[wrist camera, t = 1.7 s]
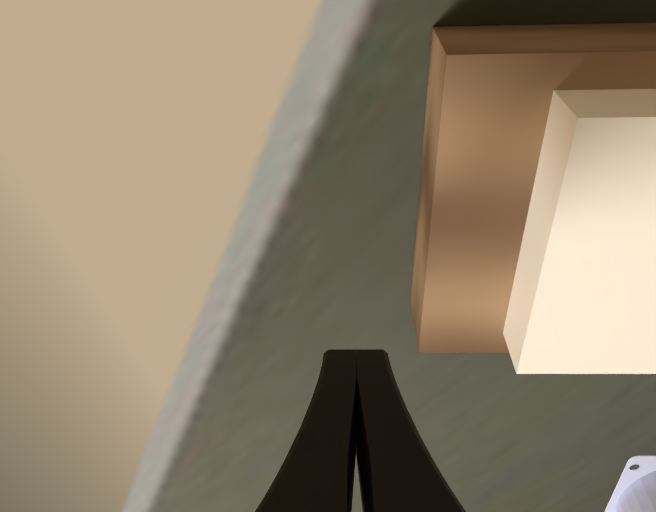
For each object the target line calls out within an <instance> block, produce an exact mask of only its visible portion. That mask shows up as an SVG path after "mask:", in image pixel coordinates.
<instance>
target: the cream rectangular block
mask: <svg viewBox="0 0 656 512" xmlns="http://www.w3.org/2000/svg"><path fill="white" fill-rule="evenodd" d="M503 335H504V338H505V341H506V344H507V347H508V350H509V353H510V356H511V359H512V362H513V365H514V368H515V371H516V374H656V89H605V90H553V95H552V100H551V104H550V109H549V114H548V119H547V124H546V128H545V133H544V138H543V143H542V148H541V152H540V157H539V162H538V167H537V172H536V176H535V181H534V186H533V191H532V196H531V200H530V205H529V210H528V215H527V220H526V224H525V229H524V234H523V239H522V244H521V248H520V253H519V258H518V263H517V268H516V272H515V277H514V282H513V287H512V292H511V296H510V301H509V306H508V311H507V316H506V320H505V325H504V330H503Z"/></svg>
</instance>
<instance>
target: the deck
mask: <svg viewBox="0 0 656 512" xmlns="http://www.w3.org/2000/svg"><path fill="white" fill-rule="evenodd" d="M605 89H656V23H604V24H551V25H499V26H447V27H432V38H431V51H430V64H429V77H428V89H427V102H426V115H425V128H424V140H423V153H422V166H421V179H420V191H419V204H418V217H417V230H416V242H415V255H414V268H413V281H412V293H411V306H412V312H413V319H414V326H415V332H416V339H417V346H418V353H509V350H508V347H507V344H506V341H505V338H504V335H503V330H504V325H505V320H506V316H507V311H508V306H509V301H510V296H511V292H512V287H513V282H514V277H515V272H516V268H517V263H518V258H519V253H520V248H521V244H522V239H523V234H524V229H525V224H526V220H527V215H528V210H529V205H530V200H531V196H532V191H533V186H534V181H535V176H536V172H537V167H538V162H539V157H540V152H541V148H542V143H543V138H544V133H545V128H546V124H547V119H548V114H549V109H550V104H551V100H552V95H553V90H605Z"/></svg>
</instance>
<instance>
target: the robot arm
mask: <svg viewBox="0 0 656 512" xmlns="http://www.w3.org/2000/svg"><path fill="white" fill-rule="evenodd" d="M356 455H357V464H358V473H359V482H360V491H361V500H362V509H363V512H466V511H465V510H464V508H463V507H462V505H461V504H460V503H459V501H458V499H457V498H456V496H455V495H454V493H453V492H452V490H451V489H450V487H449V486H448V484H447V482H446V481H445V479H444V478H443V476H442V474H441V473H440V471H439V469H438V468H437V466H436V464H435V462H434V461H433V459H432V457H431V455H430V453H429V452H428V450H427V448H426V446H425V444H424V442H423V441H422V439H421V437H420V435H419V433H418V431H417V429H416V427H415V425H414V422H413V420H412V418H411V416H410V414H409V412H408V410H407V408H406V405H405V403H404V401H403V399H402V396H401V394H400V391H399V389H398V386H397V384H396V381H395V378H394V375H393V372H392V369H391V365H390V362H389V358H388V353H386V352H385V351H384V350H328V351H326V352H325V353H324V356H323V363H322V367H321V372H320V375H319V379H318V382H317V385H316V388H315V391H314V394H313V397H312V400H311V402H310V405H309V407H308V410H307V412H306V415H305V417H304V420H303V422H302V425H301V427H300V429H299V432H298V434H297V436H296V438H295V440H294V442H293V444H292V446H291V448H290V450H289V452H288V455H287V457H286V459H285V461H284V463H283V464H282V466H281V468H280V470H279V472H278V474H277V476H276V477H275V479H274V481H273V483H272V485H271V486H270V488H269V490H268V491H267V493H266V495H265V497H264V498H263V500H262V502H261V503H260V505H259V506H258V508H257V509H256V511H255V512H351V509H352V496H353V483H354V470H355V457H356ZM634 464H638V465H639V466H640V467H639V468H638V469H636V470H630V469H629V467H630V466H631V465H634ZM605 512H656V456H635V457H632V458H631V459H629V461H628V462H627V464H626V467H625V469H624V471H623V473H622V475H621V477H620V480H619V482H618V484H617V486H616V488H615V490H614V493H613V495H612V497H611V499H610V501H609V503H608V506H607V508H606V510H605Z"/></svg>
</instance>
